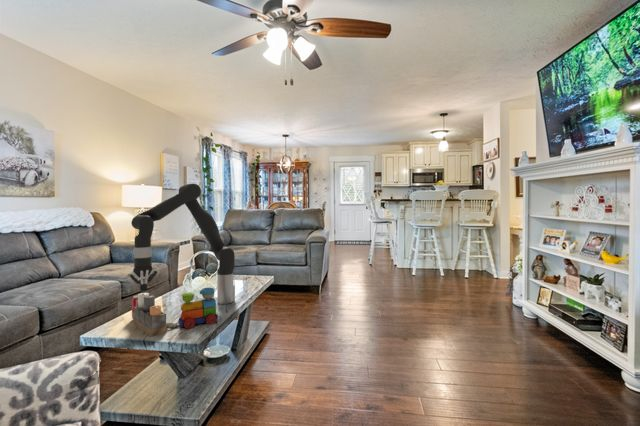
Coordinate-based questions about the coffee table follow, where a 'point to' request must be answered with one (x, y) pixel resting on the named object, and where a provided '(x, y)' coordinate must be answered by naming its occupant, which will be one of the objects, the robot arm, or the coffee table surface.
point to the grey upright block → (148, 303)
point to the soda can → (134, 304)
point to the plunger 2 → (155, 310)
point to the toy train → (197, 310)
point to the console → (150, 322)
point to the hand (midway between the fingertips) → (143, 291)
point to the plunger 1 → (141, 300)
